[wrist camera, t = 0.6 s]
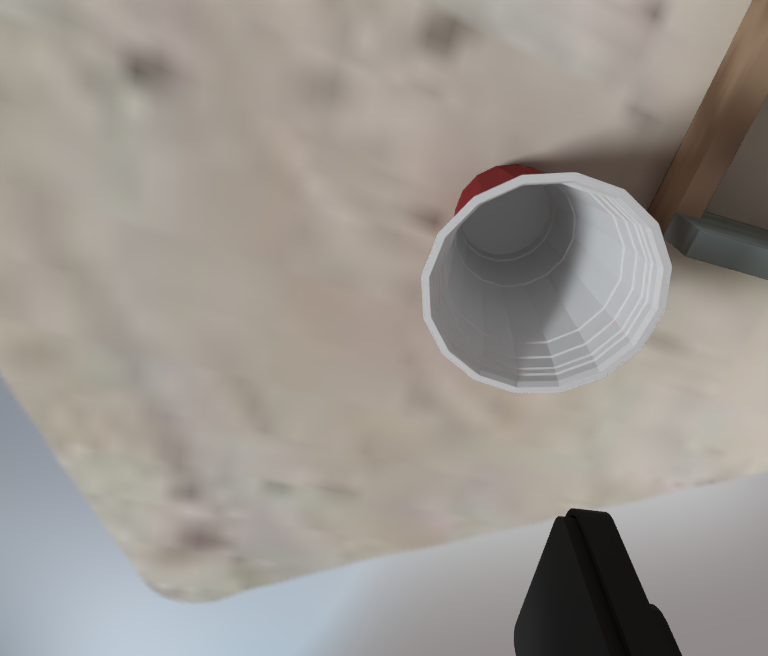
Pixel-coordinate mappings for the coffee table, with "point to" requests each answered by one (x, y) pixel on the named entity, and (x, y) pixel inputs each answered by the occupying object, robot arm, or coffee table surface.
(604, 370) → the plastic cup
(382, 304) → the coffee table surface
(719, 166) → the frame
